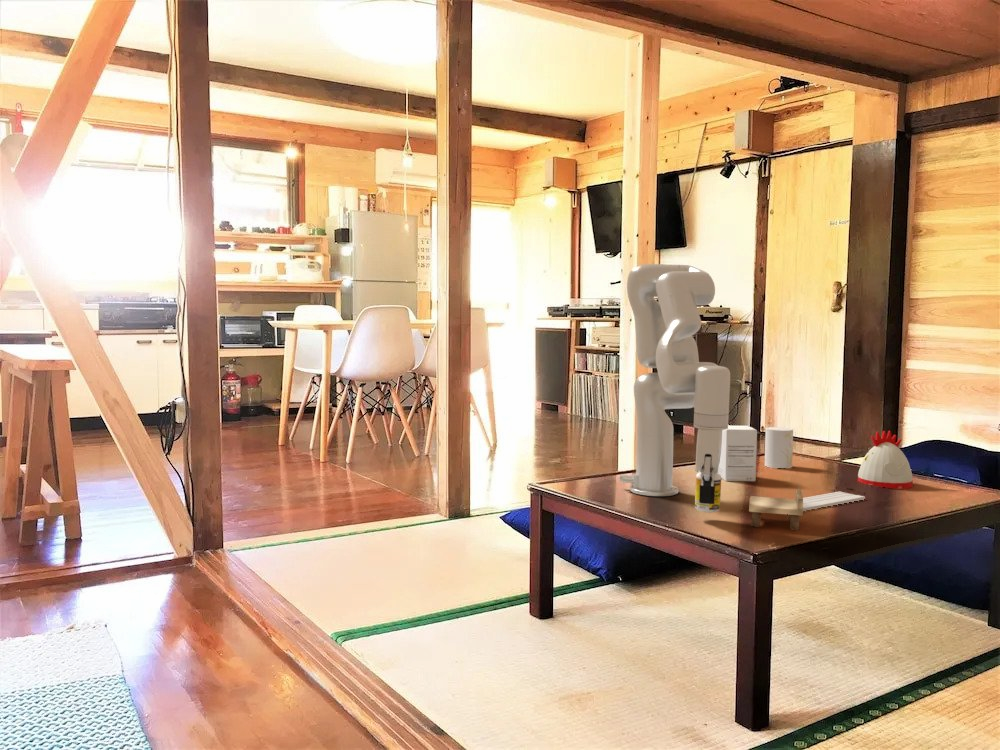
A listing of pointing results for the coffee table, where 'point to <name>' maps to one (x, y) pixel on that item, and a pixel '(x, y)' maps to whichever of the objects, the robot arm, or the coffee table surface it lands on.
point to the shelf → (777, 508)
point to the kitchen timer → (886, 464)
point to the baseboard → (830, 499)
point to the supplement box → (738, 454)
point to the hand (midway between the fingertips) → (707, 498)
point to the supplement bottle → (716, 506)
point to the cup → (778, 447)
